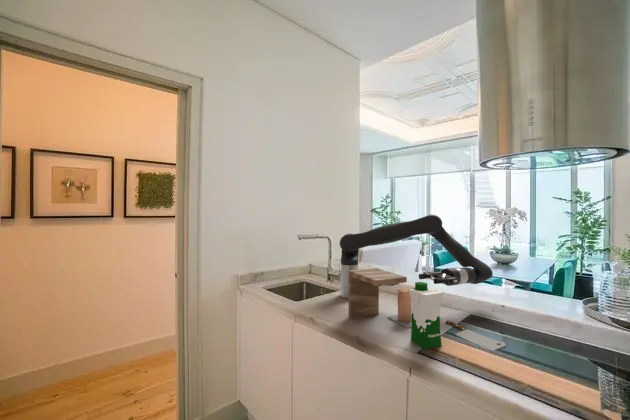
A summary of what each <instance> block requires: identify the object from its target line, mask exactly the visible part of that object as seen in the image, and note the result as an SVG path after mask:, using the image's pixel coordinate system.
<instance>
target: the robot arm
mask: <svg viewBox="0 0 630 420" xmlns="http://www.w3.org/2000/svg"><path fill="white" fill-rule="evenodd" d="M424 234H428V235H430V237H432V238H434V239H435V240H436V241H437V242H438V243H439V244H440V245H441V246H442V247H443V248H444V249H445V250H446V251H447V252H448V253H449V255H451V257H452V258H454V260H456V262H457V263H458V264H459V265H460V266H461V267H449V268H443V269H442V270H441V271H437V272H435V271H433V270H432V271H423V272H422V273H420V274H418V279H419V280H431V281H432V282H433V284H434V285H440V284H442V285H445V286H449V287H451V286H459V285H464V284H472V285H478V284H481V283H484V282H486V281H487V280H490V279H491V278H493V276H494V275H493V274H494V273H493V271H492V269H491V267H490V266H489V265H488V264H486V263H485V262H483V261H482V260H480V259H479V258H477V257H475V256H474V255H473V254H472V253H471V252H470V251H469V250H468V249H467V248H466V247H464V246H463V245H462V244H461V243H460V242H458V241H457V240H456V239H455V238H454V237H453V236H451V234H449V232H447V231H446V229H445V228H444V227H443V221H442V219H441V218H440V216H438V215H436V214H428V215H425V216H422V217H419V218H416V219H414V220H413V219H412V220H408V221H402V222H401V221H400V222H394V223H390V224H385V225H381V226H378V227H376V228H372V229H370V230H367V231H365V232H360V233H346V234H345V235H342V236H341V238H340V241H339V246H340V248H341V256H340V278H339V281H340V285H339V286H340V290H339V291H340V292H339V293H340V297H341V298H343V299H348V270H359V256H360V254H359V252H360V249H362V248H366V247H373V246H379V245H386V244H390V243H395V242H398V241H403V240H405V239H408V238H410V237H413V236H417V235H424Z"/></svg>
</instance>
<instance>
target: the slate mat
mask: <svg viewBox="0 0 630 420" xmlns="http://www.w3.org/2000/svg"><path fill="white" fill-rule="evenodd" d="M387 319H389V320H391V321H392V322H394V323H397V324H398V325H400V326H402V327H404V328H406V329H410V328H411V329H412V321H411V322H401V321H399V320H398V314H396V315H391V316H387Z"/></svg>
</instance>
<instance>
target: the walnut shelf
mask: <svg viewBox="0 0 630 420" xmlns="http://www.w3.org/2000/svg"><path fill="white" fill-rule="evenodd" d="M407 278H408V277H407V276H404V275H402V274H397V273H394V272H390V271H387V270H384V269H381V268H378V267H373V268H372V267H371V268H361V269H359V268H358V270H348V318H349V319H350V320H354V319H360V318H365V317H366V318H367V317H373V316H377V315H380V312H379V311H380V309H379V307H380V306H379V305H380V304H379V301H380V299H379V298H380V297H379V295H380V294H379V293H380V292H379V291H380V287H379V286H387V285H395V284H397V285H398V284H404V283H407Z"/></svg>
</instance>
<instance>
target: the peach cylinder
mask: <svg viewBox="0 0 630 420" xmlns="http://www.w3.org/2000/svg"><path fill="white" fill-rule="evenodd" d="M396 294H397V315H398V320H399V321H401V322H411V321H412V302H411V296H410V291H409V289H408V288H399V289H397V293H396Z"/></svg>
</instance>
